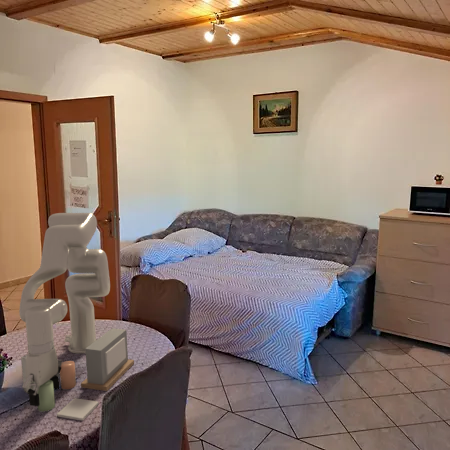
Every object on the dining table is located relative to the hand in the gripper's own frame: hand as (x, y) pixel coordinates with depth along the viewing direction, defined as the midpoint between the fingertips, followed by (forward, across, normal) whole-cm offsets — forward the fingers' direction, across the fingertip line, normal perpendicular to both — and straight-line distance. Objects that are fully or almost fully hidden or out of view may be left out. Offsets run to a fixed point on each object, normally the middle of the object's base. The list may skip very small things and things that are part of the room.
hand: (45, 396), depth 135 cm
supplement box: (+4, -9, -9) cm, 13 cm away
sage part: (+4, 0, 0) cm, 4 cm away
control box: (+4, -23, +9) cm, 25 cm away
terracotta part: (+4, -13, -1) cm, 14 cm away
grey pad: (+4, -1, +11) cm, 12 cm away
